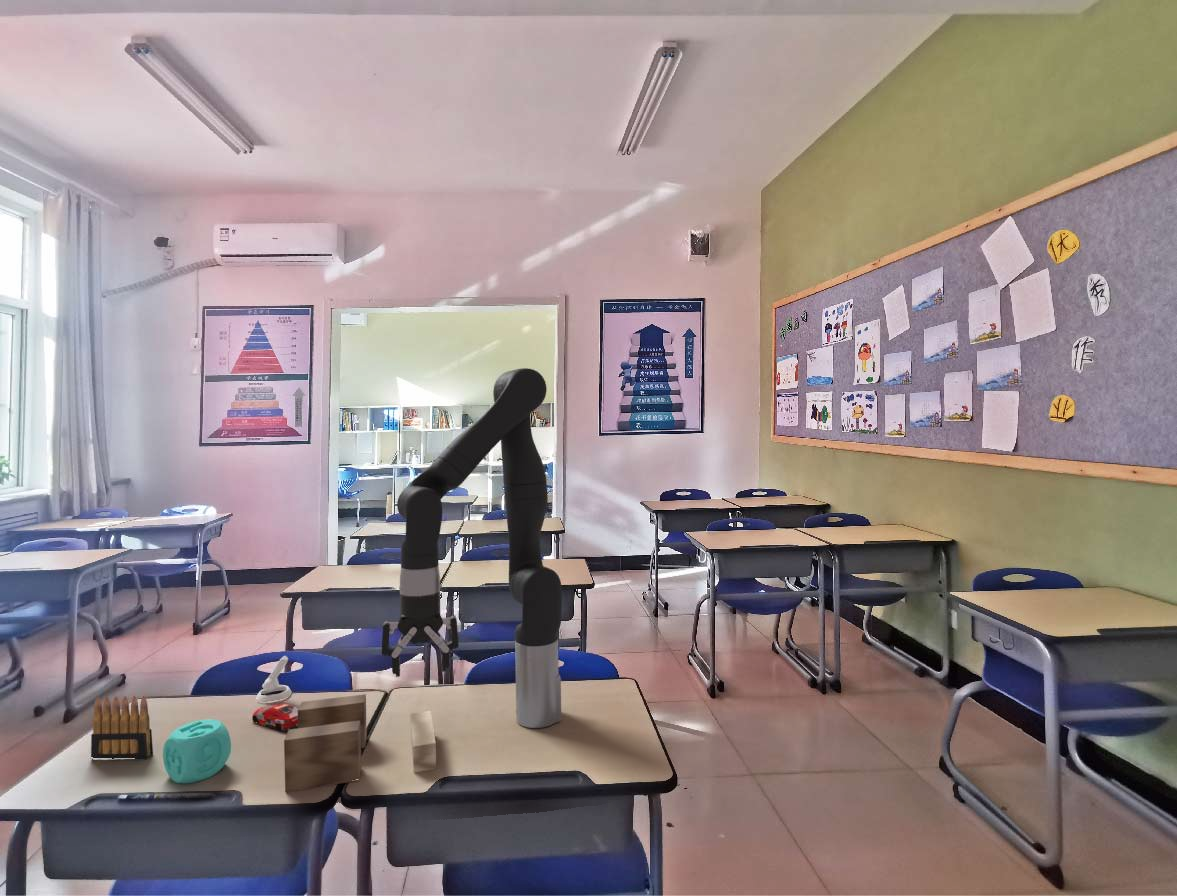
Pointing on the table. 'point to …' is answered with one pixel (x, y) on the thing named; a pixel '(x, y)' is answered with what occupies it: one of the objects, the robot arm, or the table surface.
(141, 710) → the ammunition clip
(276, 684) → the hook
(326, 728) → the slotted shelf
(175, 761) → the decorative dice
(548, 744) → the table surface
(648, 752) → the table surface
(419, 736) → the maple beam
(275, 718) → the race car
